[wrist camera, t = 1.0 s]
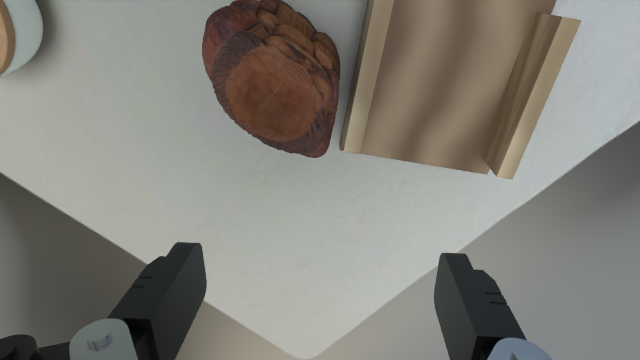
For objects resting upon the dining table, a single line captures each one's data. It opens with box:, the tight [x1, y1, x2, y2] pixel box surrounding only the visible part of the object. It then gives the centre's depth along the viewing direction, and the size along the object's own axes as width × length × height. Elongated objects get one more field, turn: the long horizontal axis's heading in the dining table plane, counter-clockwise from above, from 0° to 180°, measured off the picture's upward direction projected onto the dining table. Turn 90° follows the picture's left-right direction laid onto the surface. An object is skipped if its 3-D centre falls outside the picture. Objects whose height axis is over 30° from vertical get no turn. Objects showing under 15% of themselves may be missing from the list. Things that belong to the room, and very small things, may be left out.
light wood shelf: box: [340, 0, 581, 179], centre depth 36 cm, size 16×18×6 cm
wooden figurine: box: [202, 0, 340, 158], centre depth 31 cm, size 12×6×18 cm, turn 51°
